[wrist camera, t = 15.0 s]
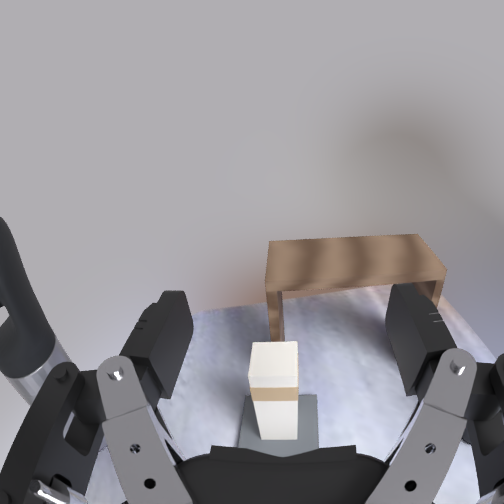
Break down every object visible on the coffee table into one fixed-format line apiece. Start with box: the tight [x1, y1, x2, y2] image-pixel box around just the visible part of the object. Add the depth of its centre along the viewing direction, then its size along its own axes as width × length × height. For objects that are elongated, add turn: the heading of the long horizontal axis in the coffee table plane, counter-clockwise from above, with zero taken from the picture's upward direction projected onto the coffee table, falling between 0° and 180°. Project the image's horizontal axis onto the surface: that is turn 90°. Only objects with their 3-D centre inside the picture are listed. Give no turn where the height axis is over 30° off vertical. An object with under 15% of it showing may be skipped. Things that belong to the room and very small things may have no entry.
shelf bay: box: [265, 234, 447, 342], centre depth 39 cm, size 22×10×18 cm, turn 84°
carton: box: [248, 341, 298, 440], centre depth 30 cm, size 5×5×14 cm
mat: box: [238, 394, 319, 457], centre depth 33 cm, size 10×10×1 cm
